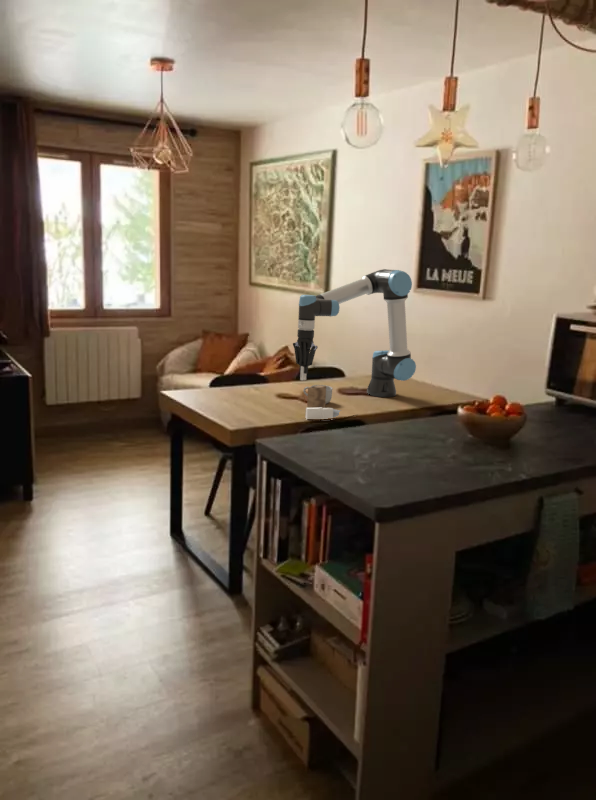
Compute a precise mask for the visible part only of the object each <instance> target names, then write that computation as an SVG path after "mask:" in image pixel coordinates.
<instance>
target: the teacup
mask: <svg viewBox="0 0 596 800" xmlns="http://www.w3.org/2000/svg"><path fill="white" fill-rule="evenodd" d="M319 385H320V384H313V385H311V386H305V387H304V388H303V394H304V395H305V396H306V397H308V392H306V390H308V388H309V387H314V386H319ZM321 385H322V386H326V399H325V405H327V404H329V403H330V402H331V401H332V398H333V397H332V396H333V389H334V388H333V386H330V385H325V384H321Z"/></svg>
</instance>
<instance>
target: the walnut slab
mask: <svg viewBox="0 0 596 800" xmlns="http://www.w3.org/2000/svg"><path fill="white" fill-rule="evenodd" d="M318 385H319V386H314V387H311V386H308V387H309V388H308V389H307V394H308V396H307V401H306V402H307V405H306V408H316V407H322V408H326V404H325V399H326V386H327V385H326V386H322V385H323V384H318Z"/></svg>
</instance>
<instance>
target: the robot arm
mask: <svg viewBox="0 0 596 800" xmlns="http://www.w3.org/2000/svg"><path fill="white" fill-rule="evenodd" d="M412 286H413V281H412V279H411V276H410V275H409V274H408V272H406V271H402V270H399V269H385V268H383V269H379V270H376V271H373V272H370V273H368V274H366V275H363V276H362V277H361V278H360V279H358V280H355V281H353V282H350V283H346V284H345V285H342V286H339V287H337V288H334V289H331V290H328V291H325V292H323V293H319V294H316V295H314V294H301V295H300V296H299V300H298V301H299V302H298V320H297V321H298V322H297V328H298V329H297V336H296V337H297V340H296V341H295V342H293V343H292V346H293V348H294V356H295V363H296V365H299V373H300V374H299V377H300V378H299V381H302V382H303V381H307V374H308V373H309V366H312V365H313V363H314V358H315V354H316V350H317V349H318V345H316V344H315V343H314V338H315V326H316V325H315V322H316V317H330V318H331V317H336V316H338V314H339V313H340V304H342V303H345V302H347V301H350V300H353V299H356V298H358V297H361V296H364V295H368V296H370V295H372V294H383V300H384V301H385V302H386V306H387V307H386V308H387V309H386V310H387V322H388V323H387V325H388V340H389V343H388V344H389V350H387V349H386V350H374V351H373V353H372V363H371V375H370V376H371V378H370V380H369V384H368V386H367V389H366V394H367V393H368V394H367V395H369V394H370V395H369V396H372V397H378V398H393V397H395V396H396V395H397V390H396V389H397V388H396V384H395V381H394V380H396V381H401V382H402V381H407V380H410V379H411V378H412V377H413V375H414V374H415V373H416V370H417V365H416V362H415V361H414V359H413V358H412V357H411V351H410V350H409V349H408V337H407V318H406V317H407V316H406V300H407V299H408V297H409V293H410V292H411V291H412Z"/></svg>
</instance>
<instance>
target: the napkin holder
mask: <svg viewBox="0 0 596 800" xmlns="http://www.w3.org/2000/svg"><path fill="white" fill-rule="evenodd" d="M333 409H334V408H333V407H325V408H322V407H316V408H307V407H305V418H306V419H305V420H307V419H328V418H333Z"/></svg>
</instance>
